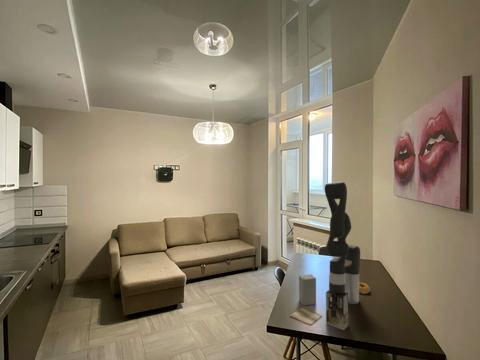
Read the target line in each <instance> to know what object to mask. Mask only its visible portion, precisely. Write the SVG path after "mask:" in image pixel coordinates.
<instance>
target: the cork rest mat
mask: <svg viewBox="0 0 480 360" xmlns="http://www.w3.org/2000/svg"><path fill="white" fill-rule="evenodd" d="M322 316H323V315H322V314H320V313H317V312H315V311H313V310H310V309H308V308H305V307H300V308H298V309H297V310H295V311H294V312H293V313H291V314H289V317H290V318H293V319H295V320H297V321H300V322H302V323H303V324H307V325H309V326H312V325H313V324H315V323H316V322H317V321H318V320H319V319H321V318H322Z"/></svg>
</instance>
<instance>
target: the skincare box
mask: <svg viewBox="0 0 480 360" xmlns="http://www.w3.org/2000/svg"><path fill="white" fill-rule="evenodd" d="M298 298H299V299H298V301H299V303H301V305H302V306H303V307H304V306H311V305H316V304H317V277H315V276H314V274H311V273H309V274H308V273H307V274H299V275H298Z"/></svg>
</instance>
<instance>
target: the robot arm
mask: <svg viewBox="0 0 480 360" xmlns="http://www.w3.org/2000/svg"><path fill="white" fill-rule="evenodd" d="M324 194H325V197H326V201H327V204H328V206H329V210H330V213H331V217H330V220H329V234H328V235H329V236H328V239H327V243H326V246H325V251H326V253H327V254H328V255H330V256H339V258H333V259H331V260H330V261H329V273H328V275H329V276H328V279H329V280H328V290H330V291H331V292H332V296H331V297H330V296H329V302H328V308H329V309H331V317H334V318H335V317H336V306H338V302H336V303H334V301H336V299H337V295H338V294H340V293H344V292H346V293H348V304H350V305H357V304H359V303H360V293H359V282H360V268H361V267H360V264H361V249H360V247H359V246H358V245H352V244H349V243H347V237H348V235H349V234H350V232H351V229H352V223H351V218H350V216H349V214H348V213H347V212H346V208H347V199H348V188H347V184H346V182H343V181H337V182H328V183H326V184H324ZM336 200H339V203H337V201H336ZM335 239H337V240H335ZM346 261H349V262H351V263H350V264H346ZM334 299H335V300H334ZM330 305H331V306H330ZM334 305H335V306H334Z"/></svg>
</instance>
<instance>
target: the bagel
mask: <svg viewBox="0 0 480 360" xmlns="http://www.w3.org/2000/svg"><path fill="white" fill-rule="evenodd" d="M370 291H371V288H370V286H369V285H368V284H367V283H365V282H362V281H361V282H360V281H359V294H363V295H366V294H369V293H370Z"/></svg>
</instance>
